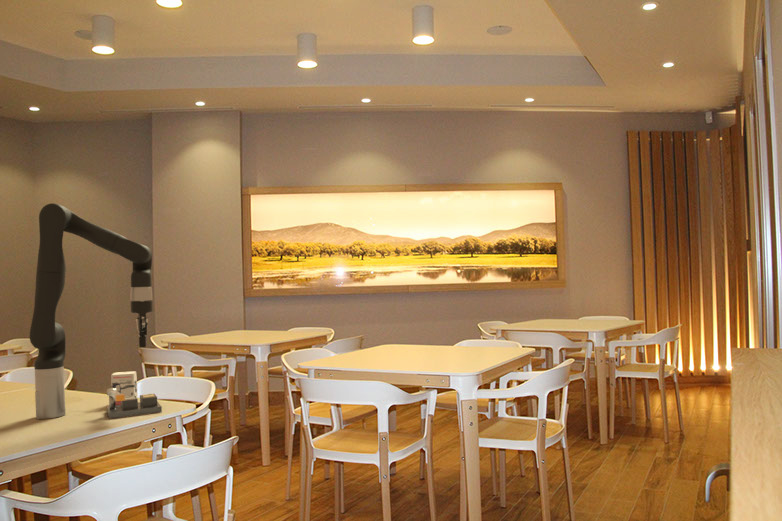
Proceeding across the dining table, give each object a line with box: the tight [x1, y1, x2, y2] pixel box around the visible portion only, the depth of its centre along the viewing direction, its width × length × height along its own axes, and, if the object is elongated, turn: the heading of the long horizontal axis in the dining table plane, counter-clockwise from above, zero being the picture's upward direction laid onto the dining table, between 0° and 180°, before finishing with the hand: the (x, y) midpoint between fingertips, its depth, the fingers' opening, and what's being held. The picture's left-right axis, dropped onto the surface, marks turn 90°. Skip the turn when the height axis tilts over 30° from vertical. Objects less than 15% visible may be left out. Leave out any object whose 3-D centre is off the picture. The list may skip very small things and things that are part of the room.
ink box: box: [110, 370, 139, 405], centre depth 256 cm, size 8×5×12 cm, turn 98°
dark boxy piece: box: [106, 393, 163, 420], centre depth 238 cm, size 17×14×7 cm
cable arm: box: [106, 387, 125, 401], centre depth 229 cm, size 18×3×2 cm, turn 32°
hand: (142, 347), depth 244 cm, fingers closed
